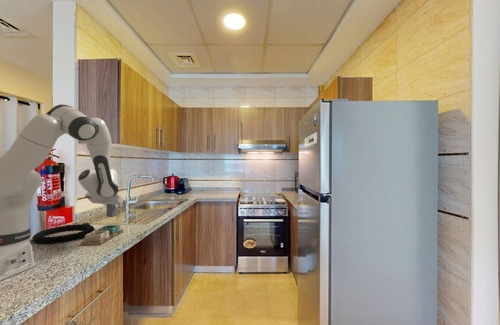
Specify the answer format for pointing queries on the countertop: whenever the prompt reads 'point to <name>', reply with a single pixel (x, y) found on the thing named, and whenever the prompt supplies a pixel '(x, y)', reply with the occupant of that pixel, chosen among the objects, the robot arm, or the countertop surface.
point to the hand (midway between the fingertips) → (112, 206)
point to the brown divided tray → (102, 235)
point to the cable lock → (59, 239)
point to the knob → (111, 210)
